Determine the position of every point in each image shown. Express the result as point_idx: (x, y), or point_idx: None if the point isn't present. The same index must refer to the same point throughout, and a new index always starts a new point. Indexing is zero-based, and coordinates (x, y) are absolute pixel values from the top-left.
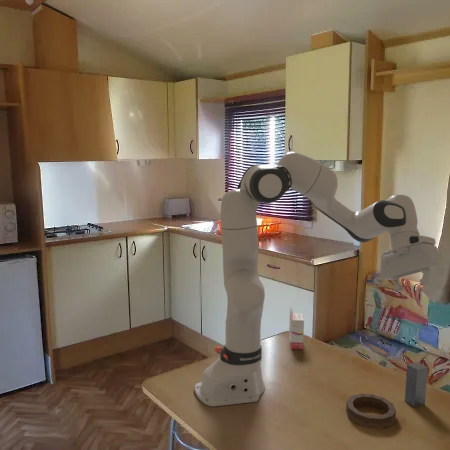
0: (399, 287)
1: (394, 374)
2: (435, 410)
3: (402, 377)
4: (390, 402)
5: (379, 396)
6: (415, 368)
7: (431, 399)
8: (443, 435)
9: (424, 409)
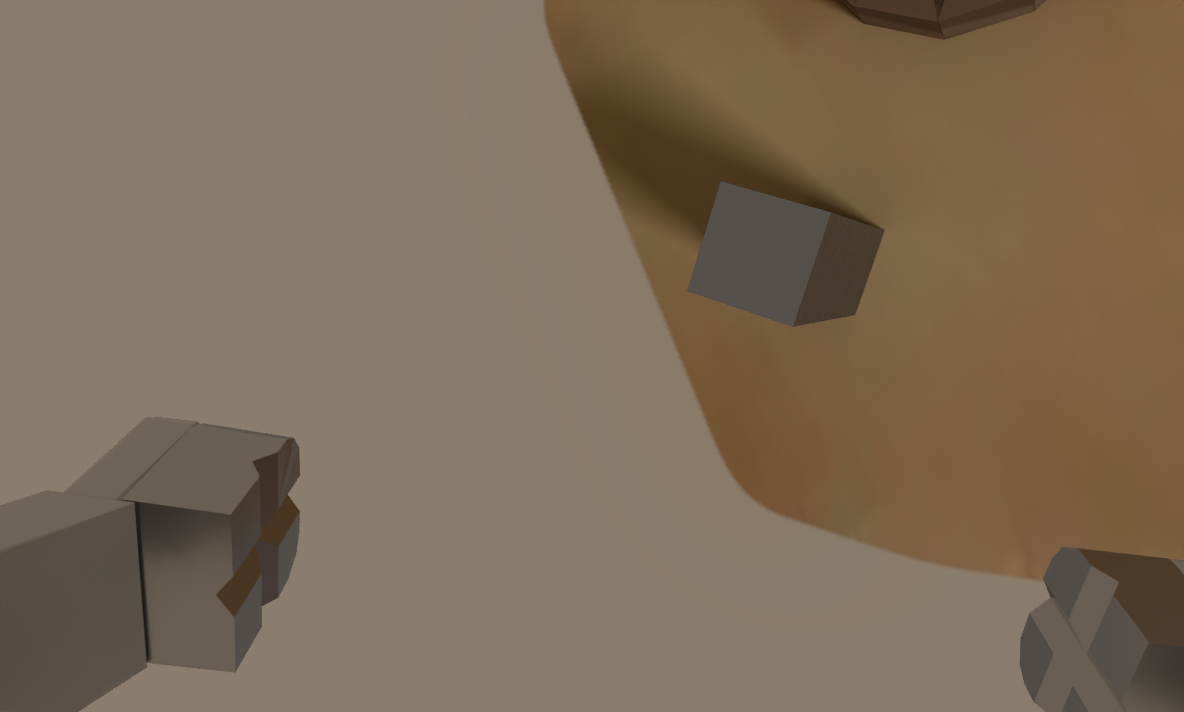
0: (1103, 615)
1: None
2: None
3: None
4: (873, 6)
5: (975, 8)
6: (742, 190)
7: (773, 383)
8: (571, 68)
9: None
